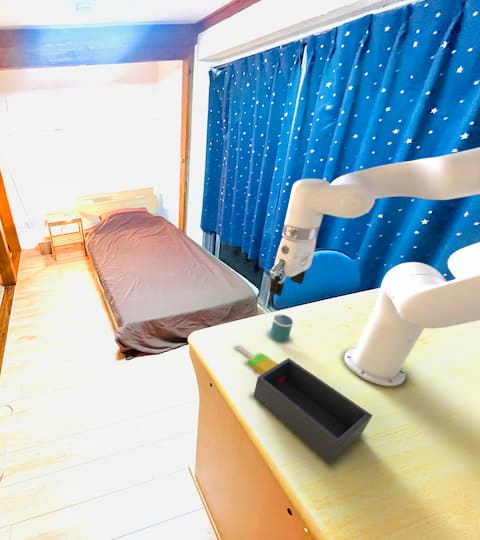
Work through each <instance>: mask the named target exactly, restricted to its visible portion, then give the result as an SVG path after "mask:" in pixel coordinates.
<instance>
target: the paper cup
mask: <svg viewBox="0 0 480 540" xmlns="http://www.w3.org/2000/svg"><path fill="white" fill-rule="evenodd" d="M293 324H294V320H293V318H292V317H290V316H288V315H286V314H275V315H274V316H273V318H272V323H271V327H270V328H271V329H270V331H269V336H270V338H271V339H272V340H273V341H274V342H277V343H287V342H288V340H289V338H290V334H291V331H292V327H293Z"/></svg>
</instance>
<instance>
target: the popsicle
mask: <svg viewBox="0 0 480 540" xmlns="http://www.w3.org/2000/svg"><path fill="white" fill-rule="evenodd" d="M237 350H239V351H240V352H241V353H243V354H245V355H246V357H248V358H250V359H248V361H247V365H249V366H250V367H251V368H253V369H254V370H255V371H257V372H258V373H260V375H262V374H263V373H265V372H267V371H268V370H270V369H271V368H273V367H275V366H276V365H278V364H279V363H277V362H276V361H274V360H272V359H271V358H270V357H268V356H267V355H265V354H263V352H262V353H261V352H260V353H257V355H255V356H254V355H252V354H251V353H250V352H249V351H247V350H245V349H244V348H242V347H241V346H238V347H237ZM284 380H285V376H284V377H283V378H281V379H280V380H279V381H278V383H281V382H283V381H284Z"/></svg>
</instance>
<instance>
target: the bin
mask: <svg viewBox="0 0 480 540" xmlns="http://www.w3.org/2000/svg"><path fill="white" fill-rule="evenodd" d="M277 364H278V365H276V366H275V367H273V368H271V369H270V370H268V371H267V372H265V373H263V374H260V375H258V376H257V379H256V382H255V383H256V384H255V387H254V392H253V395H252V397H253V398H254V399H255V400H256V401H257V402H258V403H259V404H260V405H262V407H264V408H265V409H266V410H267V411H268V412H269V413H271V415H273V416H274V417H275V418H276V419H277V420H279V422H281V424H283V426H285V427H286V428H287V429H288V430H289V431H291V432H292V433H293V434H294V435H295V436H296V437H297V438H298V439H300V441H302V442H303V443H304V444H305V445H306V446H307V447H308V448H309V449H311V450H312V451H313V452H314V453H315V454H316V455H317V456H318V457H320V459H322V460H323V461H324V462H325V463H326V464H327V465H331V464H332V463H333V462H334V461H335V460H337V459H338V458H339V457H340V456H341V455H342V454H343V453H344V452H345V451H346V450H348V448H350V447H351V446H352V445H353V444H354V443H355V442H356V441H357V440H358V439H359V438H360V437H361V436H362V435H363V433H364V432H365V429H366V428H367V426H368V424H369V423H370V421H371V419H372V417H373V414H371V413H370V412H368V411H367V410H366V409H364V408H363V407H361V406H360V405H358V404H357V403H355V402H354V401H352V400H351V399H350V398H348V397H347V396H345V395H343V394H342V393H341V392H339V391H338V390H337V389H335V388H333V387H332V386H331V385H329V384H327V383H326V382H325V381H323V380H322V379H320V378H319V377H317V376H316V375H315V374H313V373H311V372H310V371H309V370H307V369H305V368H304V367H302V366H301V364H298V363H297V362H295V361H294V360H292V359H291V358H289V357H287V358H286V359H284V360H283V361H281V362H280V363H277ZM284 376H285V380H284V381H283V382H281V383H278V381H279V380H280V379H281V378H283V377H284Z"/></svg>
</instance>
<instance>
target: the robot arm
mask: <svg viewBox="0 0 480 540" xmlns="http://www.w3.org/2000/svg"><path fill="white" fill-rule="evenodd" d="M476 195H480V146H479V147H476V148H471V149H467V150H461V151H458V152H453V153H448V154H445V155H441V156H434V157H426V158H425V157H424V158H419V159H414V160H408V161H401V162H394V163H389V164H383V165H377V166H374V167H370V168H366V169H362V170H361V169H360V170H357V171H354V172H349V173H346V174H343V175H341V176H339V177H337V178H336V179H334V180H332V181H331V183H330V182H329V181H327V180H326V179H321V178H301V179H298V180H297V181H295V182H294V183H293V185H292V188H291V192H290V197H289V202H288V206H287V210H286V215H285V219H284V224H283V227H282V233H281V235H282V238H281V240H280V244H279V246H278V249H277V252H276V256H275V260H274V266H272V268H271V269H270V270H269V275H270V276H269V278H270V286H269V289H268V291H269V293H272V294H274V295H276V296H277V297H280V296H282V294H283V290H284V285H285V283H284V281H285V280H286V278H287V277H289V279H290V281H291V282H293V283H297V284H298V285H302V284H303V283H304V279H305V276H306V271H307V270H309V268H311V266H312V262H313V259H314V254H315V251H316V245H317V239H318V234H319V230H320V227H321V224H322V221H323V217H324V215H328V216H331V217H337V218H343V219H354V218H355V219H356V218H359V217H362V216H364V215H365V214H367V213H368V212H369V211H371V210H372V208H373V207H374V205H375V201H376V200H377V199H382V198H383V199H384V198H392V197H409V198H417V199H423V200H432V201H447V200H454V199H460V198H465V197H472V196H476ZM447 268H448V270H449V271H450V273H451V274H452V276H453V277H454V279H452V280H448V281H447V279H446V278H445V277H444V276H443V274H442V273H441V272H439V271H438V269H436V268H434V267H433V266H431V265H429V264H426V263H424V262H417V261H410V262H403V263H399V264H398V265H394V266H393V267H392V268H391V269H389V271H387V272H386V274H385V275H384V277H383V279H382V282H381V285H380V288H379V292H378V296H377V299H376V303H375V304H374V308H373V310H372V312H371V314H370V316H369V318H368V320H367V323H366V325H365V328H364V329H363V331H362V334H361V336H360V338H359V340H358V343H357V345H356V346H355V347H353V348H350V349H348V350H347V351H346V353H345V354H344V362H345V364H346V366H347V367H348V368H349V369H350V370H351V371H352V372H354V373H355V374H356V375H357V376H359V377H360V378H361V379H364V380H366V381H368V382H371V383H373V384H377V385H379V386H384V387H394V386H399V385H401V384H403V382H404V381H405V379H406V372H405V370H404V369H403V365H404V364H405V362H406V360H407V358H408V357H409V355H410V354H411V352H412V350H413V348H414V347H415V345H416V343H417V341H418V340H419V339H420V336H421V335H422V334H423V332H424V330H425V329H443V328H450V327H454V326H460V325H464V324H468V323H473V322H478V321H480V241H479V242H477V243H473V244H470V245H468V246H465V247H463V248H459V249H458V250H456V251H455V252H453V253H452V254H451V255H450V256H449V258H448V260H447ZM279 275H282V276H281V277H280V276H279Z"/></svg>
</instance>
